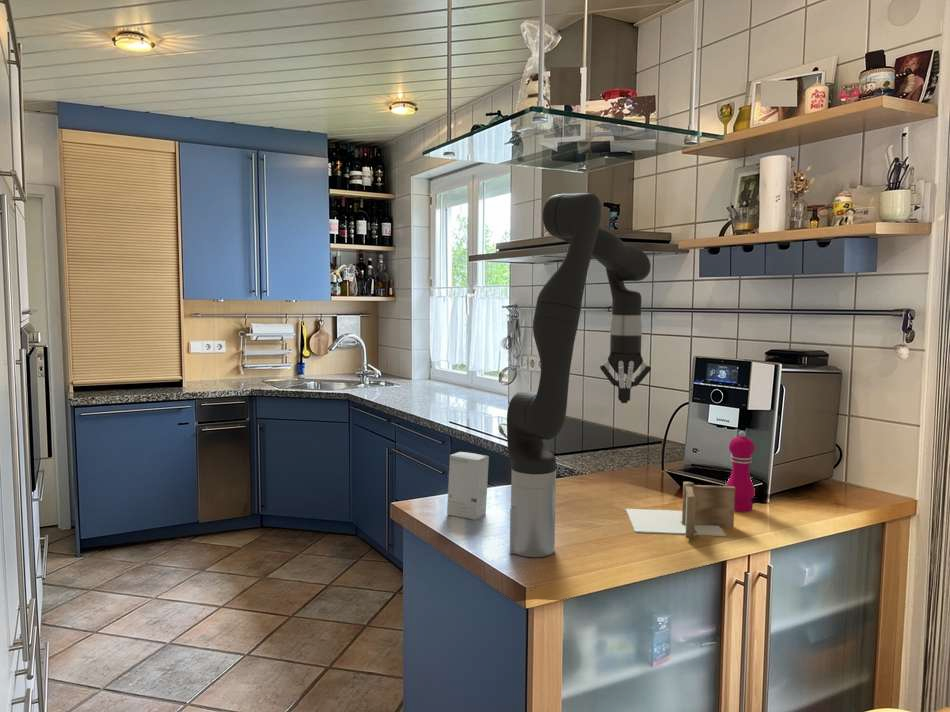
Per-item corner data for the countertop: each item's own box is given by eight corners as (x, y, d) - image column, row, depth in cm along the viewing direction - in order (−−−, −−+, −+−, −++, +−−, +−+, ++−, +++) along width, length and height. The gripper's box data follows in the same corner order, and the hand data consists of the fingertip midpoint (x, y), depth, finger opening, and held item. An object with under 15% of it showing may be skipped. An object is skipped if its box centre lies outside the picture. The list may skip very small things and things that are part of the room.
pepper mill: (754, 514, 168) (758, 434, 166) (723, 510, 170) (727, 432, 169) (753, 506, 175) (757, 429, 173) (724, 503, 177) (727, 427, 176)
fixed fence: (683, 526, 158) (684, 484, 157) (680, 522, 161) (682, 481, 160) (734, 528, 157) (736, 485, 156) (731, 525, 159) (733, 483, 159)
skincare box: (446, 515, 164) (447, 455, 163) (458, 509, 170) (458, 450, 169) (477, 520, 161) (478, 459, 160) (488, 513, 166) (489, 454, 165)
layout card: (634, 532, 154) (635, 530, 154) (625, 509, 170) (625, 508, 170) (725, 536, 152) (726, 534, 152) (707, 513, 169) (707, 511, 168)
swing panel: (694, 539, 147) (695, 497, 146) (685, 538, 148) (687, 497, 147) (691, 523, 158) (693, 484, 157) (683, 523, 158) (684, 484, 157)
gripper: (600, 333, 165) (598, 404, 166) (655, 334, 164) (653, 405, 165) (597, 332, 173) (596, 400, 174) (650, 333, 171) (648, 401, 173)
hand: (624, 402), depth 169 cm, fingers closed
